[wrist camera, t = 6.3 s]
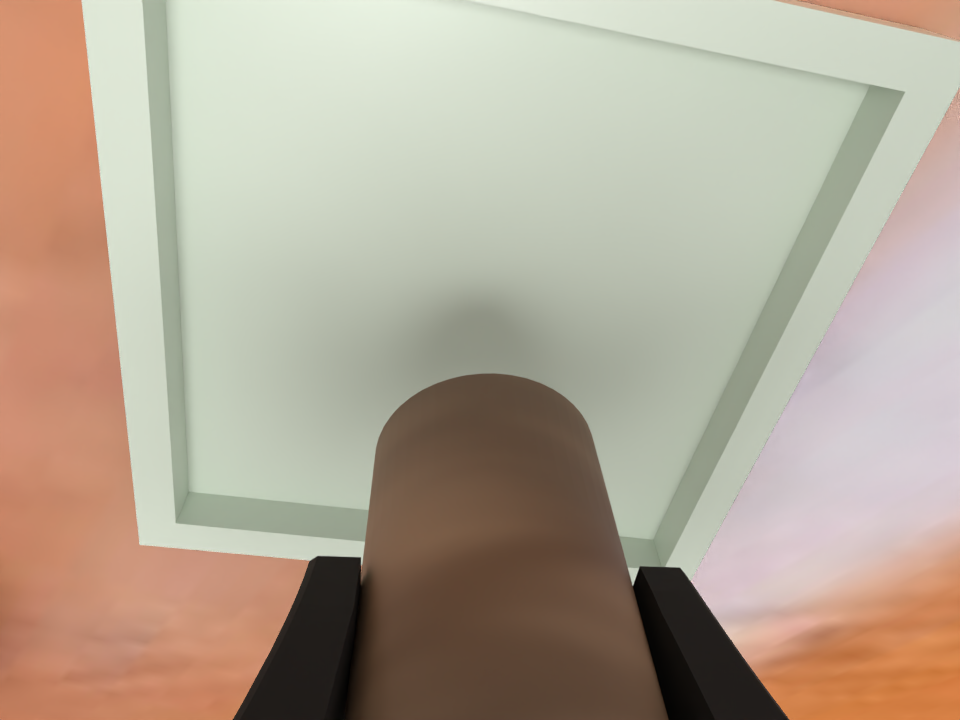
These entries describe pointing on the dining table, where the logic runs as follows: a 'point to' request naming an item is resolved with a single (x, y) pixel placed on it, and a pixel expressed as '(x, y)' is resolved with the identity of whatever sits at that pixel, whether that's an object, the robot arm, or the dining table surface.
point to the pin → (495, 567)
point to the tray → (483, 236)
